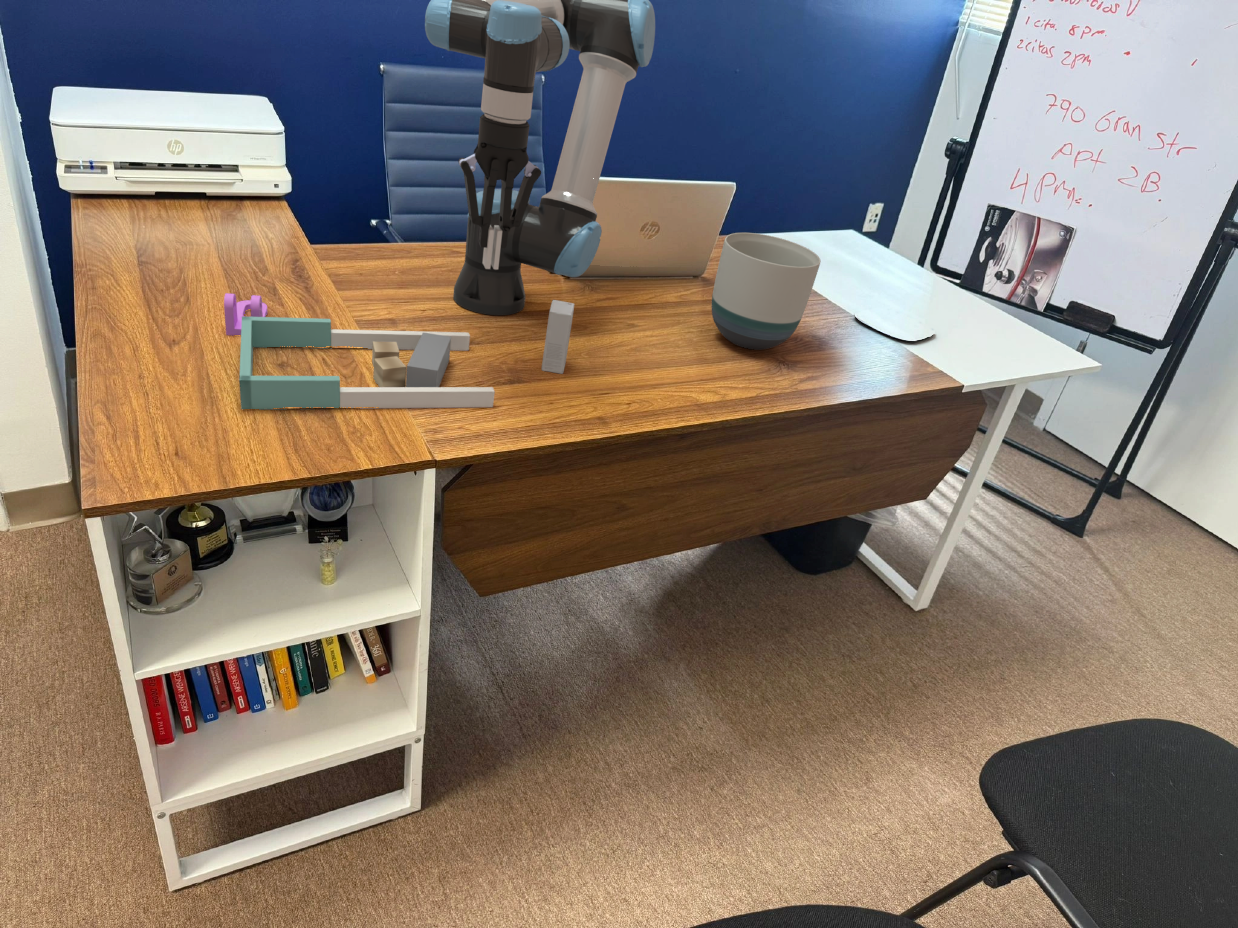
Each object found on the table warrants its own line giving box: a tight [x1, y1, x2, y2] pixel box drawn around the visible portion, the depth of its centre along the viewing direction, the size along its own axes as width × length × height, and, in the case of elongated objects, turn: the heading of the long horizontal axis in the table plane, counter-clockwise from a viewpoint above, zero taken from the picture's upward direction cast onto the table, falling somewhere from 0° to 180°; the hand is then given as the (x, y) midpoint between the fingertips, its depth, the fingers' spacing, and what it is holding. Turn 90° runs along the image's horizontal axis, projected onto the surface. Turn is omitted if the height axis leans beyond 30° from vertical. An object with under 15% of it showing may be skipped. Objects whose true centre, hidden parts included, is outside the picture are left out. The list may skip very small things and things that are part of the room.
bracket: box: [223, 292, 268, 336], centre depth 151 cm, size 13×6×7 cm, turn 14°
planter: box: [711, 232, 822, 351], centre depth 181 cm, size 20×20×21 cm
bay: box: [238, 315, 341, 411], centre depth 138 cm, size 14×23×5 cm, turn 20°
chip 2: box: [373, 356, 407, 387], centre depth 142 cm, size 4×4×4 cm
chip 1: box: [371, 342, 400, 367], centre depth 146 cm, size 4×4×4 cm
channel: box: [331, 328, 496, 409], centre depth 146 cm, size 24×23×3 cm
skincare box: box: [541, 299, 575, 375], centre depth 156 cm, size 6×4×12 cm
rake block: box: [405, 331, 451, 387], centre depth 146 cm, size 5×14×5 cm, turn 1°
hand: (490, 266), depth 140 cm, fingers closed
